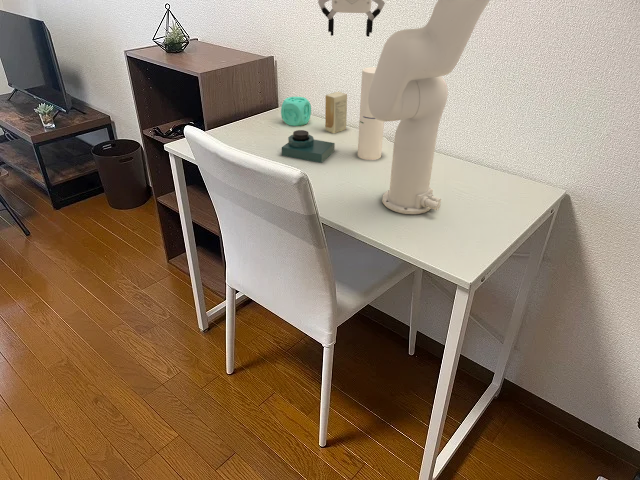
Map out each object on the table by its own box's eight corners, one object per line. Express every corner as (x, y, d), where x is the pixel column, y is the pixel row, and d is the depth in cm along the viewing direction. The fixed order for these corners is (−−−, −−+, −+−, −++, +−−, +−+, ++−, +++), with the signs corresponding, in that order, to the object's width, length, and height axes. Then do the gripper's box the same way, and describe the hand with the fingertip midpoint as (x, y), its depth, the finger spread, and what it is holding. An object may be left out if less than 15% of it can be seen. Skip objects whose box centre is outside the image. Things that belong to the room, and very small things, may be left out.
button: (311, 137, 148) (311, 131, 147) (304, 143, 145) (304, 136, 144) (297, 135, 150) (297, 129, 149) (290, 140, 146) (290, 134, 145)
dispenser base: (334, 151, 151) (334, 137, 148) (321, 163, 143) (321, 148, 140) (296, 144, 155) (296, 130, 152) (281, 155, 147) (281, 141, 145)
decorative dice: (291, 117, 177) (290, 95, 173) (311, 120, 174) (311, 98, 170) (281, 124, 171) (280, 101, 167) (301, 127, 168) (301, 104, 164)
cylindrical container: (373, 162, 144) (379, 74, 130) (352, 156, 147) (357, 70, 134) (385, 154, 149) (393, 69, 135) (365, 149, 152) (371, 65, 139)
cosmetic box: (337, 126, 170) (338, 90, 163) (346, 129, 167) (348, 93, 160) (324, 130, 166) (324, 94, 159) (333, 134, 163) (334, 97, 157)
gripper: (318, -38, 119) (317, 37, 129) (389, -36, 119) (383, 38, 129) (319, -40, 126) (318, 31, 135) (386, -38, 126) (380, 33, 135)
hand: (349, 35), depth 132 cm, fingers open, 9 cm apart
